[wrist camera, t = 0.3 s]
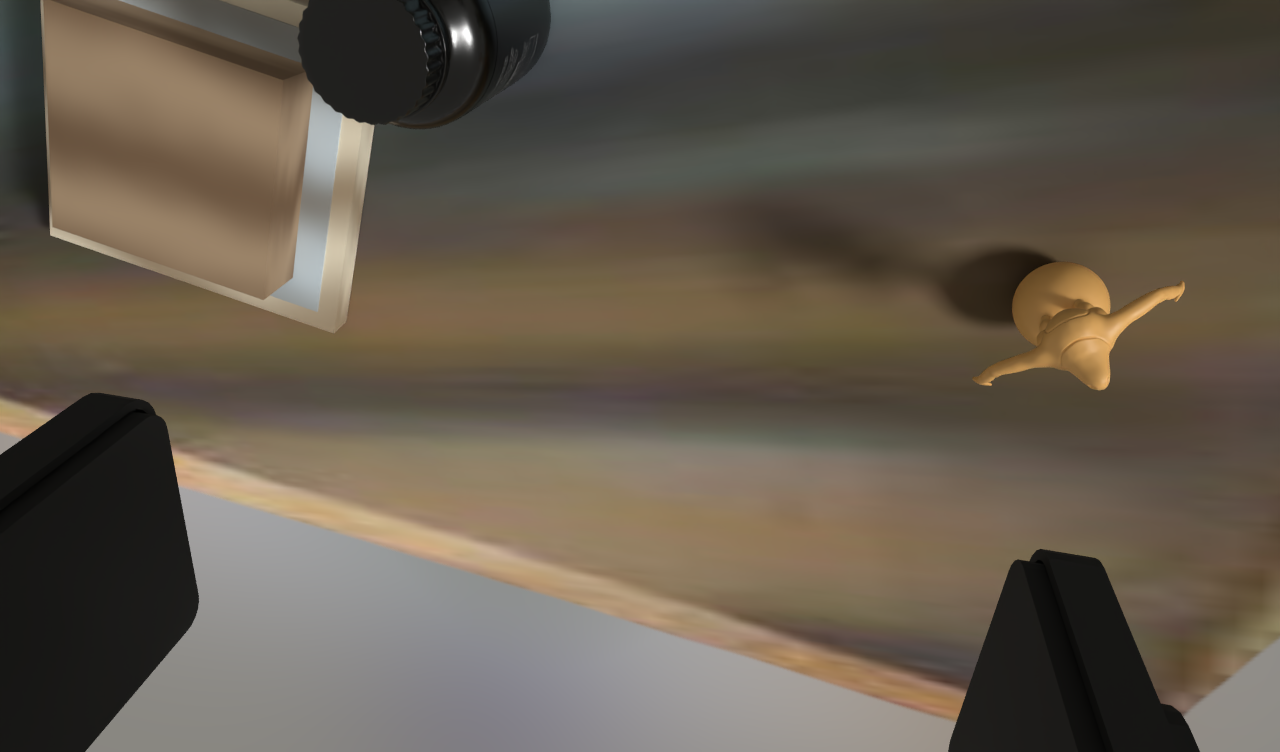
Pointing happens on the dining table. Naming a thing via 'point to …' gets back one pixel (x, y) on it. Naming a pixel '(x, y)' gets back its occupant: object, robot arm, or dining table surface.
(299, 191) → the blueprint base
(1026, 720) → the robot arm
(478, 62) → the supplement bottle
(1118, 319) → the figurine
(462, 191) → the dining table surface
